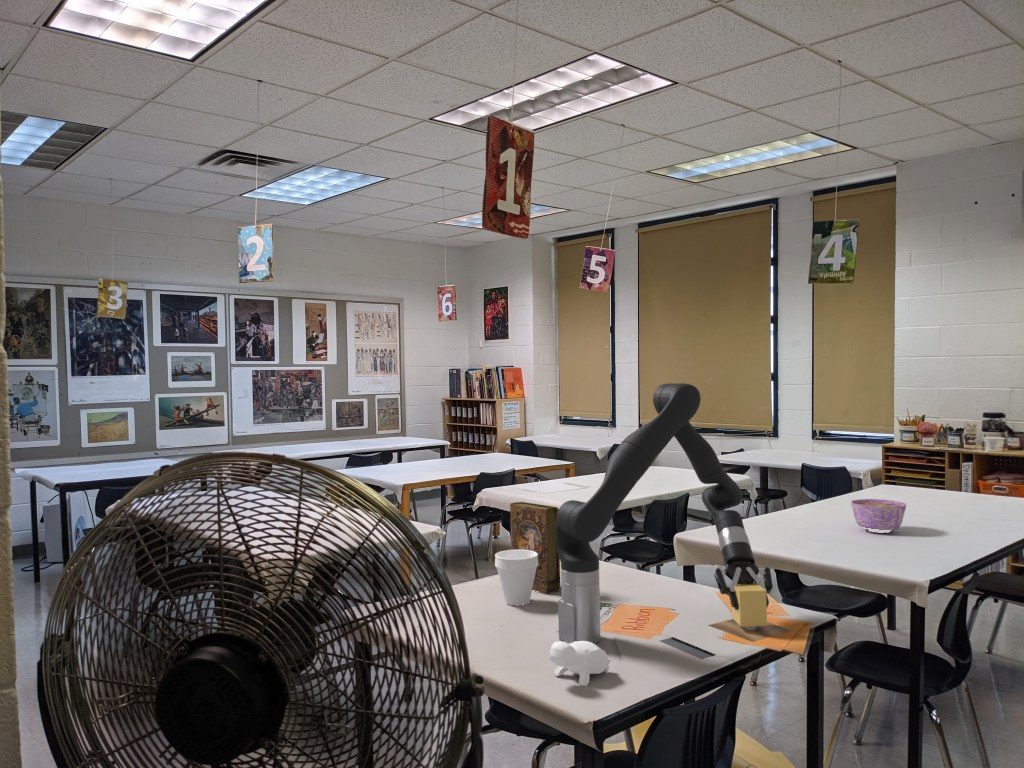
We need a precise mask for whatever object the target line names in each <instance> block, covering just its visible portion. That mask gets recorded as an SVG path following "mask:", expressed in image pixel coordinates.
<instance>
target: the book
mask: <svg viewBox="0 0 1024 768" xmlns="http://www.w3.org/2000/svg"><path fill="white" fill-rule="evenodd" d="M509 510H510V515H509V516H510V550H530V551H534V552H536V553H537V554H538V566H537V568H536V573H535V577H534V582H533V587H532V590H535V591H534V592H536V591H539V592H538V593H540V592H542V593H541V594H545V593H546V594H548V593H549V592H553V591H558V590H560V589H561V561H560V559H559V556H558V552H557V539H556V516H557V512H558V510H559V507H558V506H553V505H547V504H540V503H539V504H538V503H534V502H525V501H517V502H511V503H510V505H509Z"/></svg>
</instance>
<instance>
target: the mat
mask: <svg viewBox="0 0 1024 768" xmlns="http://www.w3.org/2000/svg"><path fill="white" fill-rule="evenodd" d="M659 642H661V643H663V644H665V645H668V646H670V647H672V648H675V649H677V650H680V651H682V652H684V653H686V654H689V655H691V656H694V657H695V658H698V659H701V660H703V659H707V658H710V657H714V656H717V654H716V653H713V652H711V651H708V650H706V649H703V648H700V647H698V646H696V645H693V644H691V643H689V642H685V641H684V640H681V639H679V638H676V637H674V636H672V637H669V638H668V637H667V638H665V639H661V640H659Z"/></svg>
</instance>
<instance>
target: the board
mask: <svg viewBox="0 0 1024 768" xmlns="http://www.w3.org/2000/svg"><path fill="white" fill-rule="evenodd" d="M707 626H709V627H711V628H714V629H717V630H719V631H722V632H725V633H728V634H730V635H733V636H735V637H739V638H740V639H744V640H747V641H750V642H756V641H759V640H763V639H766V638H770V637H774V636H777V635H781V634H784V633H789V632H792V631H793V630H792V629H790V628H787V627H783V626H780V625H777V624H774V623H772V622H769V621H767V626H757V629H756V630H746V629H743V628H742V626H741V627H740V625H739V624H738V623H737V622H736V621H735V620H734V619H733V618H731V619H728V620H724V621H719V622H716V623H711V624H708V625H707Z"/></svg>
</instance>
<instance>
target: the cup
mask: <svg viewBox="0 0 1024 768" xmlns="http://www.w3.org/2000/svg"><path fill="white" fill-rule="evenodd" d="M494 557H495V559H494V565H495V566H494V567H496V570H497V573H498V577H499V582H500V585H501V590H502V594H503V597H504V602H506V603H507V604H506V603H505V604H506V605H508V604H511V605H510V606H512V605H522V604H526V605H528V604H529V603H530V602H529V601H530V600H531V596H532V587H533V582H534V577H535V573H536V568H537V566H538V554H537V553H536V552H534V551H530V550H511V549H507V550H502V551H501V550H500V551H498V552H496V553H495V554H494ZM528 602H529V603H528ZM527 603H528V604H527ZM522 606H523V605H522Z"/></svg>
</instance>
